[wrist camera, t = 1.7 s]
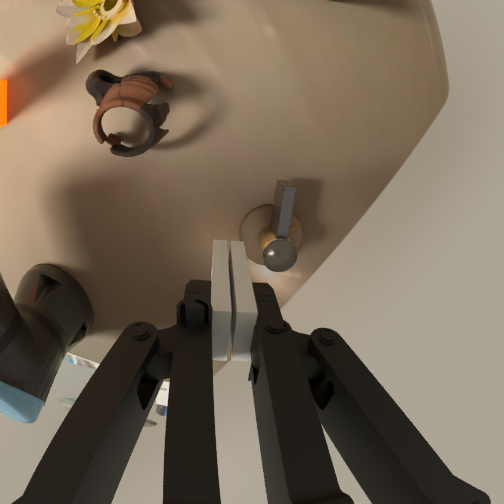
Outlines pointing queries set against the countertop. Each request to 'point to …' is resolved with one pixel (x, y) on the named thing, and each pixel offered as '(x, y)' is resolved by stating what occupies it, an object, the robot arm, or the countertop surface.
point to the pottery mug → (128, 105)
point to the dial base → (257, 222)
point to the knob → (279, 231)
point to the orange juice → (3, 102)
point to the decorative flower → (97, 21)
